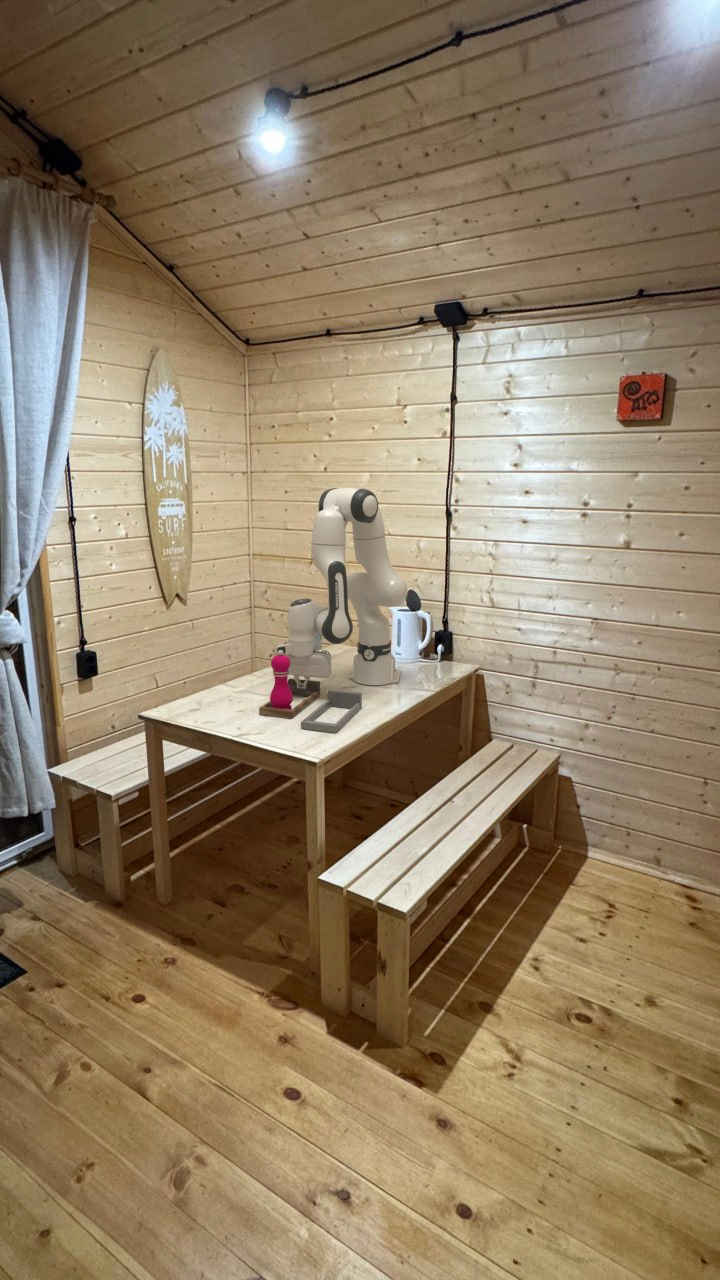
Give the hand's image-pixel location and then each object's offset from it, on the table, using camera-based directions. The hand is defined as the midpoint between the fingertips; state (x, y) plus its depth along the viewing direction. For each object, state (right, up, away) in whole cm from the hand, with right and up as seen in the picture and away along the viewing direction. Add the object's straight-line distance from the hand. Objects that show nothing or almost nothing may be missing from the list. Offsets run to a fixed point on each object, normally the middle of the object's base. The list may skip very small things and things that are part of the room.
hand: (302, 688), depth 232 cm
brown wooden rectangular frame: (-3, -5, -8) cm, 10 cm away
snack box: (-1, +6, +41) cm, 42 cm away
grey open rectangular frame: (+11, -8, -19) cm, 24 cm away
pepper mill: (-5, -7, -14) cm, 16 cm away
